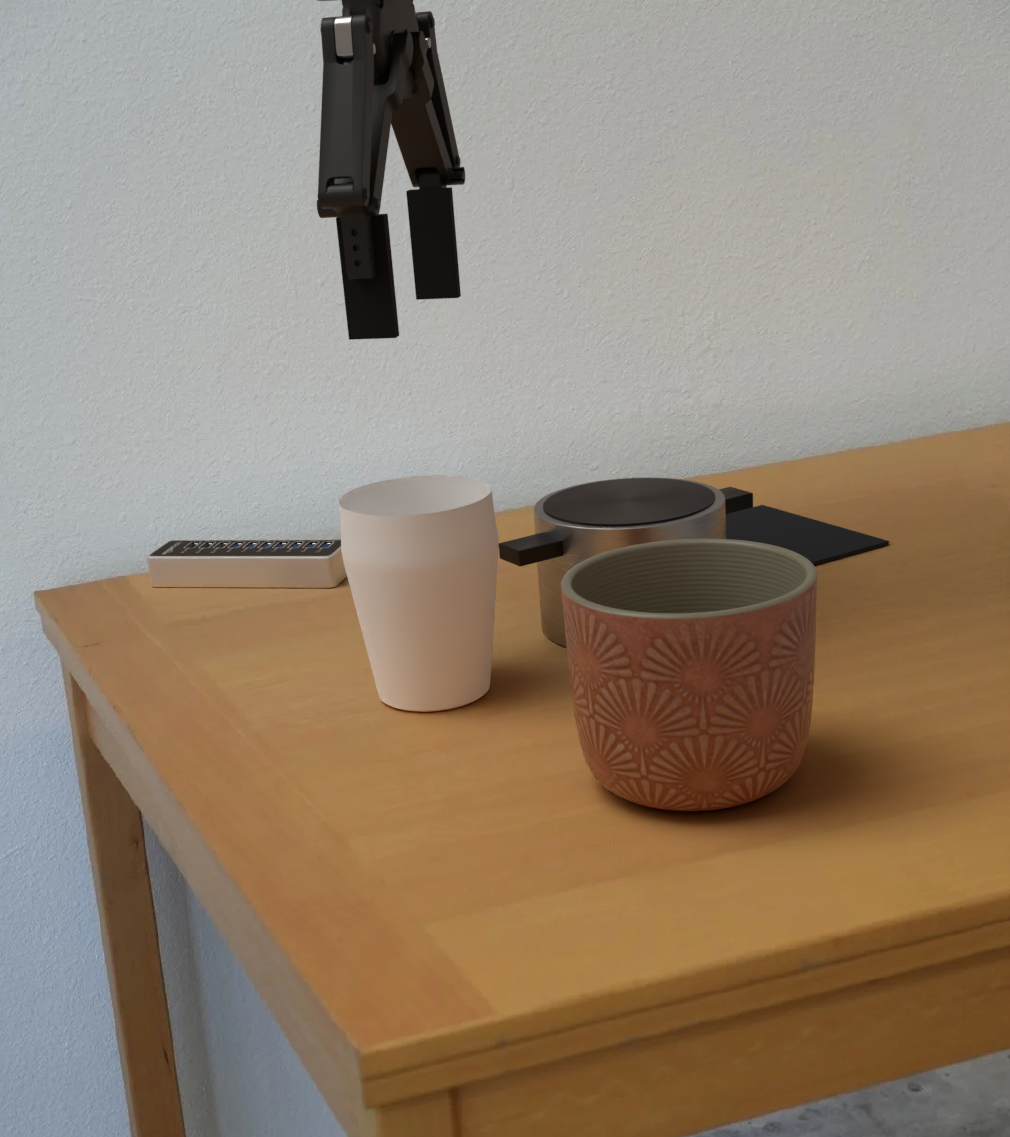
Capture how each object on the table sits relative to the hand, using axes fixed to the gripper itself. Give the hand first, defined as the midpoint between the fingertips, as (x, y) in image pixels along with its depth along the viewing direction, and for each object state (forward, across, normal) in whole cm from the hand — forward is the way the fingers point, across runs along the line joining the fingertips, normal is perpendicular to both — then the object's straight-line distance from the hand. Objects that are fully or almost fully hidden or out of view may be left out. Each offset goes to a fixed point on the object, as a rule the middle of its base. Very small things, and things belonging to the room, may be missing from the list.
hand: (408, 317), depth 101 cm
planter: (+21, +20, +19) cm, 34 cm away
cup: (+21, +8, +2) cm, 22 cm away
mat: (+21, -22, +18) cm, 35 cm away
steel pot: (+21, -5, +12) cm, 24 cm away
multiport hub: (+21, -14, -18) cm, 31 cm away
